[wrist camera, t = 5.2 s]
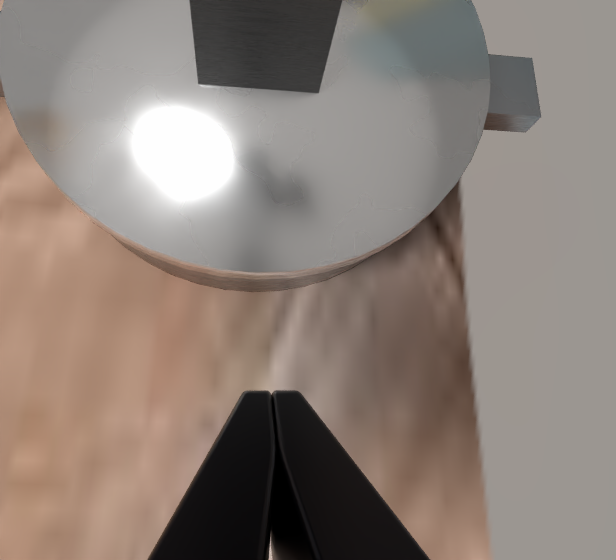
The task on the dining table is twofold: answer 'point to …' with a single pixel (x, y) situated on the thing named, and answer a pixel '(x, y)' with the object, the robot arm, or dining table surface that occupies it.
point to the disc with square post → (249, 121)
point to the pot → (501, 116)
